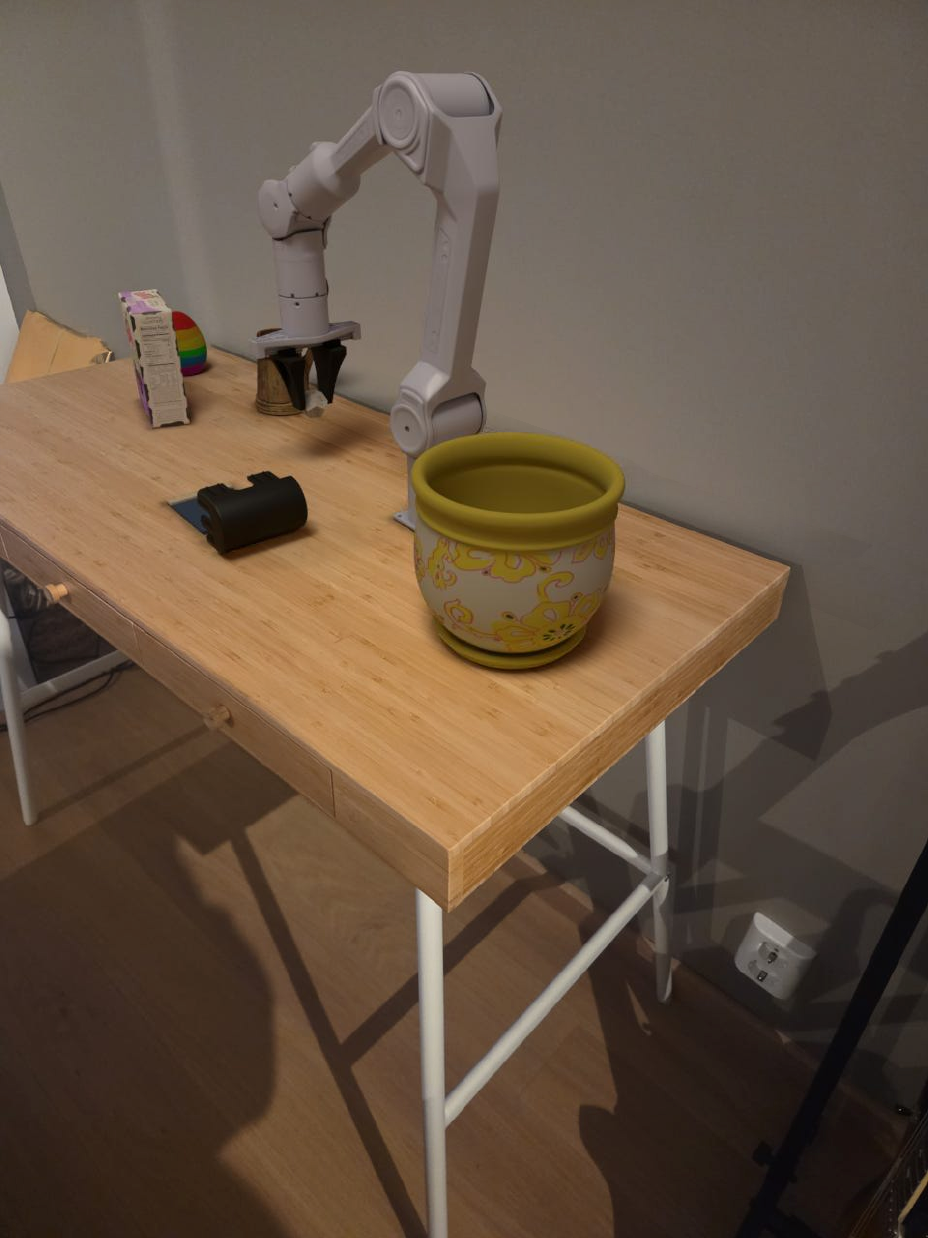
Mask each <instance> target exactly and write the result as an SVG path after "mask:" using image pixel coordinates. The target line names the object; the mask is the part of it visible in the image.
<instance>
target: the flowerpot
mask: <svg viewBox="0 0 928 1238" xmlns="http://www.w3.org/2000/svg"><path fill="white" fill-rule="evenodd" d="M410 478H411V485H412V488H413V490H414V492H415V494H416V497H415V508H416V511H417V516H416V523H415V531H414V530H413V531H414V532H413V565H414V572H415V577H416V578H415V579H416V581H417V585H418V588H419V591H420V593H421V596H422V598H423V600H424V602H425V604H426V605H427V607H428V609H429V610H430V611H431V613H432V614H433V625H434V628H435V631H436V633H437V635H438V636H439V637H440V639H441V640H442V641H443V642H444V643H445V644H446V645H448V646H449V647H450V648H451V649H453V651H454V652H455V653H457V654H458V655H460V656H462V657H463V658H465V659H467V660H468V661H471V662H473V663H476V664H478V665H481V666H485V667H488V668H494V669H501V670H502V669H503V670H525V669H532V668H538V667H541V666H545V665H547V664H550V663H552V662H555V661H557V660H558V659H560V658H561V657H563V656H564V655H565V654H568V653H569V652H571V651H572V650H574V648H575V647H577V646H578V645H579V644H580V642H581V641H582V640H583V638H584V636H585V635H586V631H587V623H588V622H589V621H590V619H592V617H593V616H594V615H595V614H596V612H597V610H598V609H599V607H600V606H601V604H602V602H603V601H604V599H605V596H606V594H607V592H608V589H609V587H610V583H611V579H612V575H613V572H614V571H613V570H614V563H615V556H616V525H615V524H616V523H615V522H616V520H617V517H618V514H619V503H620V501H621V500H622V498H623V496H624V495H625V490H626V477H625V474H624V471H623V469H622V468H621V466H620V465H619V464H618V463H617V462H616V461H615V460H614V459H613V458H611V457H610V456H609V455H607V454H606V453H604V451H601V450H599V449H597V448H595V447H593V446H590V445H588V444H585V443H583V442H579V441H576V440H573V439H569V438H564V437H560V436H555V435H551V434H550V435H549V434H543V433H533V432H521V431H520V432H519V431H518V432H517V431H514V432H513V431H503V432H484V433H480V434H476V435H470V436H464V437H460V438H456V439H452V440H449V441H446V442H443V443H441V444H438V445H436V446H434V447H432V448H430V449H429V450H427V451H426V452H424V453H423V454H422V455H421V456H420V457H419V458H418V459H417V460H416V461H415V463H414V465H413V467H412V470H411V477H410Z"/></svg>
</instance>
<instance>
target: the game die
mask: <svg viewBox="0 0 928 1238" xmlns="http://www.w3.org/2000/svg"><path fill="white" fill-rule="evenodd" d="M305 400H306V408H305V410H302V411H303V412H302V413H303V414H304V416H305V417H307V418H309V419H316V418H317V419H318V418H322V417H323V415H324V412H325V410H326V408H327V405H328V404H327V402H328V401H327V399H326V398H325V396H324V395H323V394H322V392H320V391H318V389H310V390H309V391H305Z"/></svg>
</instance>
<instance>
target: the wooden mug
mask: <svg viewBox="0 0 928 1238" xmlns="http://www.w3.org/2000/svg"><path fill="white" fill-rule="evenodd" d="M328 282H329V281H328V280H327V278H326V290H327V299H328V298H329V292H330V291H329V290H330V287H329V283H328ZM279 330H282V327H273V328H272V327H271V328H265V329H261V330H259V331H257V332H256V338H257V337H261V336H264V335H267V334H270V333H273V332H276V331H279ZM303 351H304V349H299V350H296V353H299V357H301V358H303V359H305V360H306V364H305V371H304V391H309V390H311V388H310V373H311V371H312V367H313V364H314V359H313V355H312V351H311V348H310V347H309V348H306V351H305V354H304V355H303V354H302V352H303ZM256 370H257V371H256V382H257V383H256V385H257V387H256V388H257V390H256V391H257V392H256V394H255V405H254V406H255V409H256V410H257V411H259V413H263V414H267V415H274V416H288V415H296V414H301V413H303V411H300V410H298V409H296V408H294V407H293V405H292V402H291V399H290V396H289V393H288V391H287V388H286V386H285V383H284V381H283V379H282V377H281V375H280V374H279V372H278V370H277V368H276V367H275V365H274V364H273V362H272V361H271V359H270V358H269V355H268V356H266V357H265V358H262V359H257V358H256Z"/></svg>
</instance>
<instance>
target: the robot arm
mask: <svg viewBox="0 0 928 1238" xmlns="http://www.w3.org/2000/svg"><path fill="white" fill-rule="evenodd" d="M501 106H502V105H500V102H499V101H498V99H497V97H496V95H495V93H494V91H493V89H492V88H491V86H490V84H489V82H488V81H487V80H486V79H485V77H483V76H482V75H481V74H479V73H477V72H474V71H464V72H461V73H438V72H437V73H427V72H426V73H425V72H424V73H423V72H421V73H420V72H411V71H406V70H398V71H395V72H393V73H391V74H390V75H389V76H388V77H387V78H386V79H385V81H384V83H382V84H380V85H379V86H377V87H375V88H374V89H373V92H372V103H371V105H370V106H369V107H368V108H367V109H366V110H365V112H364V113H363V114H362V115H361V116H360V118H359V119H358V120H357V121H356V122H355V123H353V125H352V126H351V128H350V129H348V131H347V132H346V133H345V135H343V137H342V138H341V139H340V140H339V141H338V143H336V142H333V141H314V142H313V143H312V144H311V145H310V146H309V147H308V150H309V152H310V153H309V154H308V155H307V156H306V157H305V158H304V159H302V161H300V163H299V164H298V165H293V166H291V167H290V169H289V170H288V173H289V174H287V175H286V176H285V178H284V179H283V180H278V179H266V180H264V181H263V184H262V185H261V186H260V189H259V192H258V194H257V212H258V216H259V220H260V222H261V226H262V227H263V228H264V229H263V230H265V232H266V233H267V234H268V236H270V237H271V243H272V248H273V249H272V250H273V260H274V268H275V279H276V289H277V295H278V304H279V305H278V306H279V313H280V324H281V328H282V330H279V331H276V332H273V333H270V334H267V335H264V336H261V337H257V336H256V337H253V338H248V347H249V354H250V356H251V357H253V358H255V359H256V360H257V359H262V358H265V357H266V356H268V355H269V358H270V359H271V361H272V362H273V364H274V365H275V367H276V368H277V370H278V372H279V374H280V375H281V377H282V379H283V381H284V383H285V386H286V388H287V391H288V393H289V396H290V399H291V402H292V405H293V407H294V408H296V409H298V410H300V411H302V410H305V408H306V400H305V391H304V371H305V364H306V360H305V359H303V358H301V357H299V353H296V350H299V349H303V350H304V349H308V348H309V347H310V348H311V351H312V355H313V359H314V362H313V364H314V366H315V372H316V380H317V381H316V383H317V390H318V391H320V392H322V394H323V395H324V396H325V398H326V399H327V401H328V402H327V405H331V404H333V403H334V395H335V389H336V385H337V381H338V377H339V374H340V370H341V368H342V365H343V363H344V361H345V359H346V357H347V356H348V349H347V346H346V345H343V344H342V342H345V341H349V340H352V341H359V340H361V339H362V332H361V331H362V330H361V323H359V322H356V321H353V320H348V321H340V322H339V321H338V322H330V318H329V317H330V316H329V303H328V298H327V290H326V279H327V277H326V266H325V252H324V251H325V250H326V249H327V245H328V232H329V231H328V230H329V228H330V226H331V222H332V219H333V214H334V213H335V212H336V211H337V210H339V209H340V208H341V207H343V205H345V204H346V203H347V202H348V201H350V200H351V199H352V198H354V196H356V194H357V193H359V189H360V187H361V182H362V181H361V180H362V177H361V175H362V174H363V173H365V172H366V171H368V170H369V169H371V168H372V167H373V166H374V165H376V164H377V163H379V162H380V161H381V160H383V159H384V158H386V157H387V156H388V155H390V154H391V153H393V154H394V155H395V156H396V157H397V158H398V159H399V160H400V162H402V163H403V164H404V166H405V167H406V168H407V169H408V170H409V171H410V172H411V173H412V175H413V176H414V177H415V178H416V179H417V180H418V181H419V183H420V184H422V186H425V187H427V188H428V189H430V191H431V192H432V194H433V196H434V197H435V199H436V212H435V219H434V220H435V221H434V228H433V237H432V246H431V252H430V253H431V254H430V261H429V271H428V279H427V288H426V295H425V305H424V312H423V323H422V328H421V329H422V330H421V339H420V347H419V355H418V361H417V362H416V364H415V365H414V367H413V368H412V369H411V370H410V371H409V372H408V373H407V374H406V376H405V377H404V378H403V379H402V380H401V382H400V384H399V386H398V387H399V388H398V395H397V398H396V401H395V403H394V404H393V405H392V407H391V410H390V414H389V427H390V432H391V435H392V438H393V440H394V442H395V444H396V445H397V446H398V448H399V449H400V450H401V453H402V454H404V455H406V467H407V468H406V471H407V472H406V473H407V477H406V479H407V509H406V508H405V509H403V510H401V511H398V512H394V513H393V517H392V518H393V519H394V520H396V521H397V522H399V523H401V524H403V525H404V526H405V527H407V528H408V529H410V530H412V531H415V523H416V516H417V511H416V508H415V497H416V494H415V492H414V490H413V488H412V485H411V478H410V477H411V470H412V467H413V465H414V463H415V461H416V460H417V459H418V458H419V457H420V456H421V455H422V454H423V453H424V452H426V451H427V450H429V449H430V448H432V447H434V446H436V445H438V444H441V443H443V442H446V441H449V440H452V439H456V438H460V437H464V436H470V435H476V434H482V432H483V431H484V429H485V428H486V427H485V426H486V425H487V419H488V413H487V412H488V411H487V406H486V399H485V394H486V393H485V392H486V386H487V382H486V380H485V379H484V378H483V377H482V375H481V374H480V373H479V372H478V371H477V370H476V369H474V368H473V367H472V363H473V358H474V352H475V346H476V345H475V344H476V340H477V333H478V328H479V322H480V315H481V308H482V302H483V296H484V290H485V284H486V279H487V271H488V267H489V260H490V255H491V253H490V252H491V246H492V240H493V235H494V229H495V223H496V216H497V210H498V204H499V197H500V190H501V189H500V188H501V187H500V186H501V184H500V183H501V182H500V181H501V180H500V172H499V161H498V144H499V137H500V131H501V127H502V119H503V108H502V107H501Z"/></svg>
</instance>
